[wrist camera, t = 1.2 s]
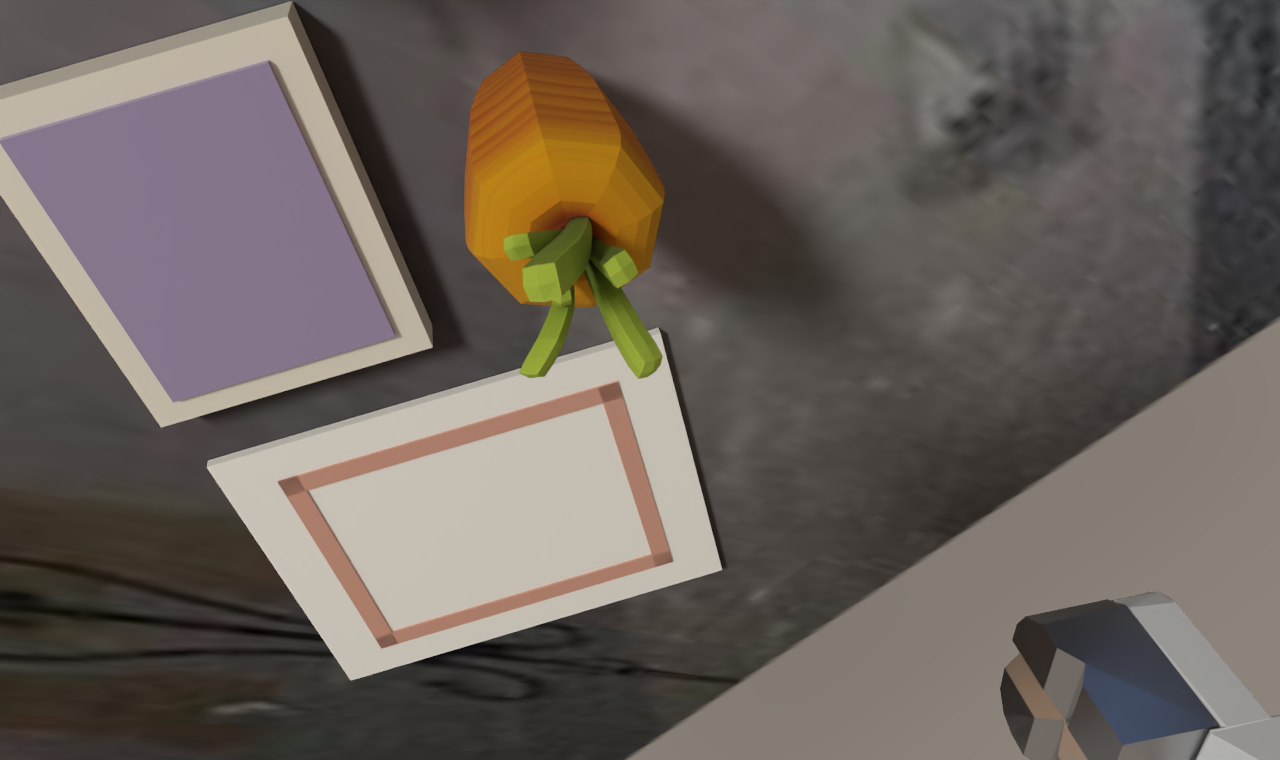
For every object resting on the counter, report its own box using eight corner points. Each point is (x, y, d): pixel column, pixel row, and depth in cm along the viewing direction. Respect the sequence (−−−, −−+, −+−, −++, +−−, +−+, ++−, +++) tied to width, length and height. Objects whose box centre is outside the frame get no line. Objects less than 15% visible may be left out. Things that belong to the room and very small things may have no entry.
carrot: (618, 122, 34) (731, 387, 22) (475, 162, 34) (511, 450, 22) (583, -28, 31) (692, 186, 19) (425, 16, 31) (436, 258, 19)
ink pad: (292, 0, 30) (286, 18, 29) (432, 324, 37) (433, 351, 36) (-36, 96, 30) (-58, 118, 28) (169, 401, 37) (159, 432, 36)
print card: (658, 327, 39) (660, 334, 39) (720, 563, 48) (722, 571, 47) (208, 460, 39) (206, 469, 39) (351, 673, 48) (350, 682, 47)
